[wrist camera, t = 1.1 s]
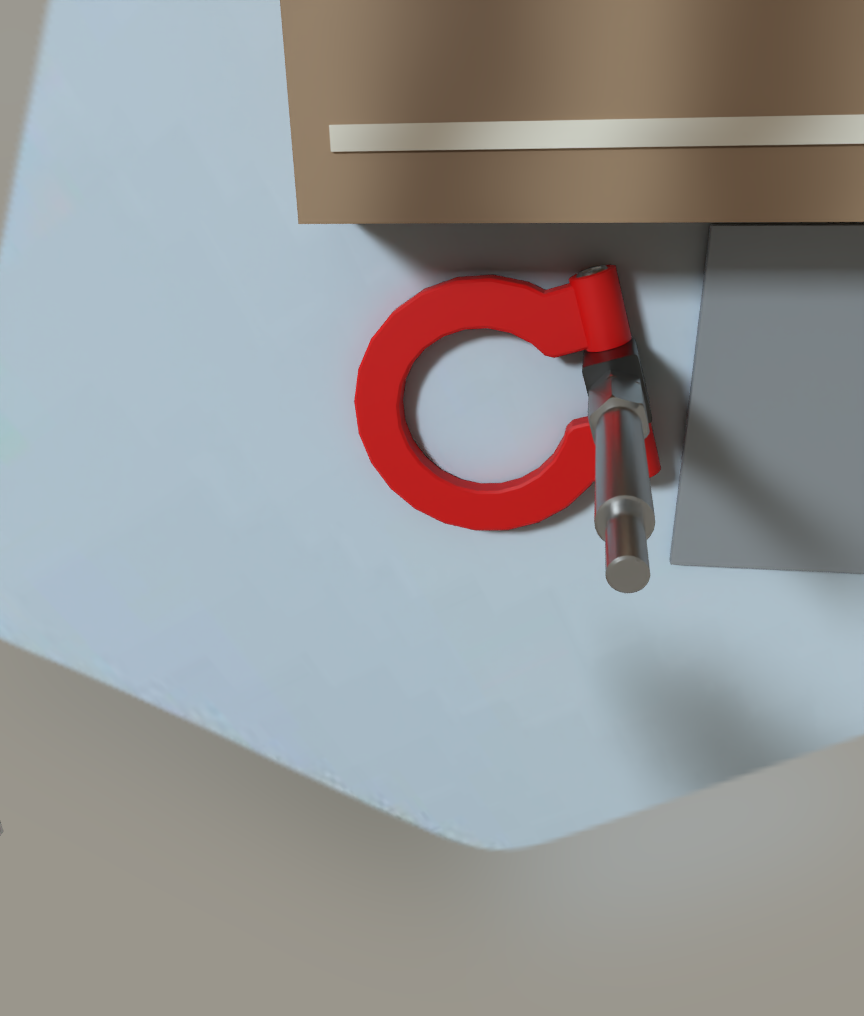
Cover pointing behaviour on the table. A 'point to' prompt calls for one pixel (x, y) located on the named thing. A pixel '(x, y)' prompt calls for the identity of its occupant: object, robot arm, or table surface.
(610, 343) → the tow hook
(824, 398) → the mat
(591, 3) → the walnut board
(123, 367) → the table surface
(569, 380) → the table surface
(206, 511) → the table surface
